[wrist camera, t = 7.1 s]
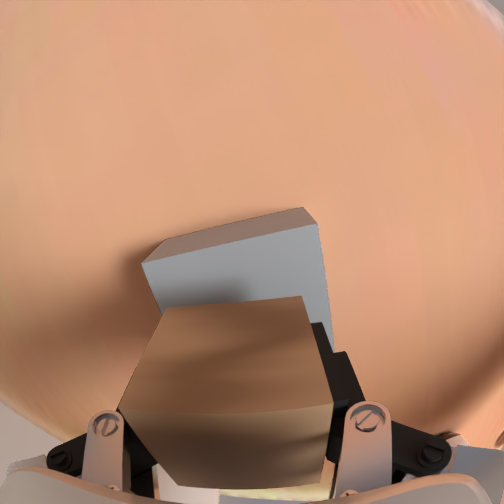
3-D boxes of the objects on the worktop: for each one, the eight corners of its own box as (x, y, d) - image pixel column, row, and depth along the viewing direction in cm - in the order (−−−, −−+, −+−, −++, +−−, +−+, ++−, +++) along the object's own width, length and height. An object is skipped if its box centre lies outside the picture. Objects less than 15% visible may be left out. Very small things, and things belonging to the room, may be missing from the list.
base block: (302, 206, 15) (317, 223, 11) (321, 324, 18) (335, 364, 14) (166, 238, 16) (140, 263, 12) (206, 346, 18) (196, 387, 15)
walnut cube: (301, 295, 10) (333, 403, 5) (303, 388, 11) (319, 482, 7) (166, 307, 10) (117, 407, 5) (196, 395, 12) (178, 485, 7)
